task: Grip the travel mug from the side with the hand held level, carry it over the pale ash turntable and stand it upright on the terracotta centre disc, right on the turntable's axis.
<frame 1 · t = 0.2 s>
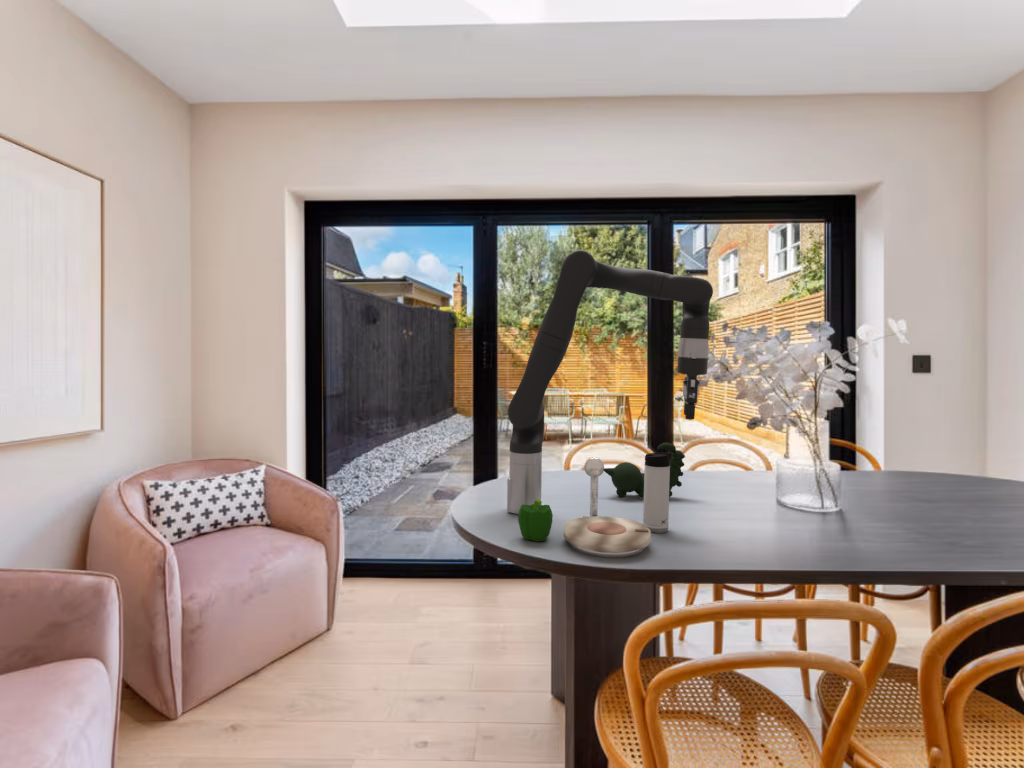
hand: (688, 417, 143), 29 cm above the table, tool pointing down, fingers open, 8 cm apart
toy figurine: (642, 498, 172), on the table
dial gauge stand: (593, 524, 142), on the table
bell pepper: (535, 539, 130), on the table
turntable base: (606, 544, 127), on the table
travel mug: (656, 530, 139), on the table
turntable platter: (606, 532, 126), point 3 cm above the table, hinge at 0.0°
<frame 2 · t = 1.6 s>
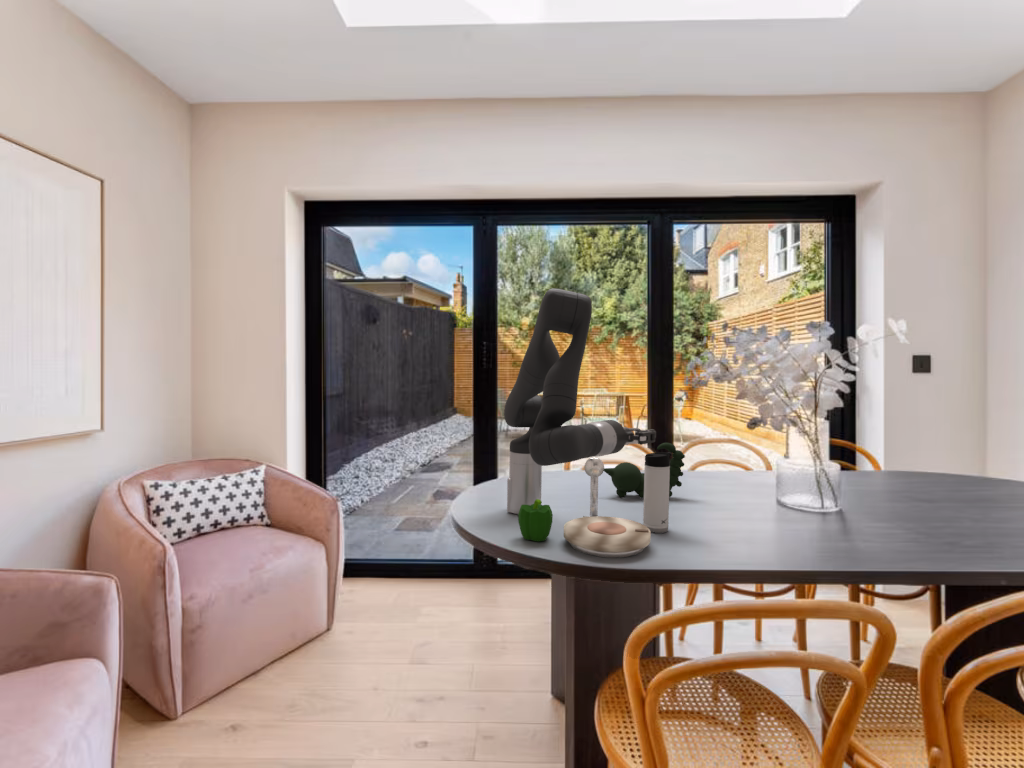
hand: (637, 432, 130), 26 cm above the table, tool horizontal, fingers open, 8 cm apart
nothing on the table moved.
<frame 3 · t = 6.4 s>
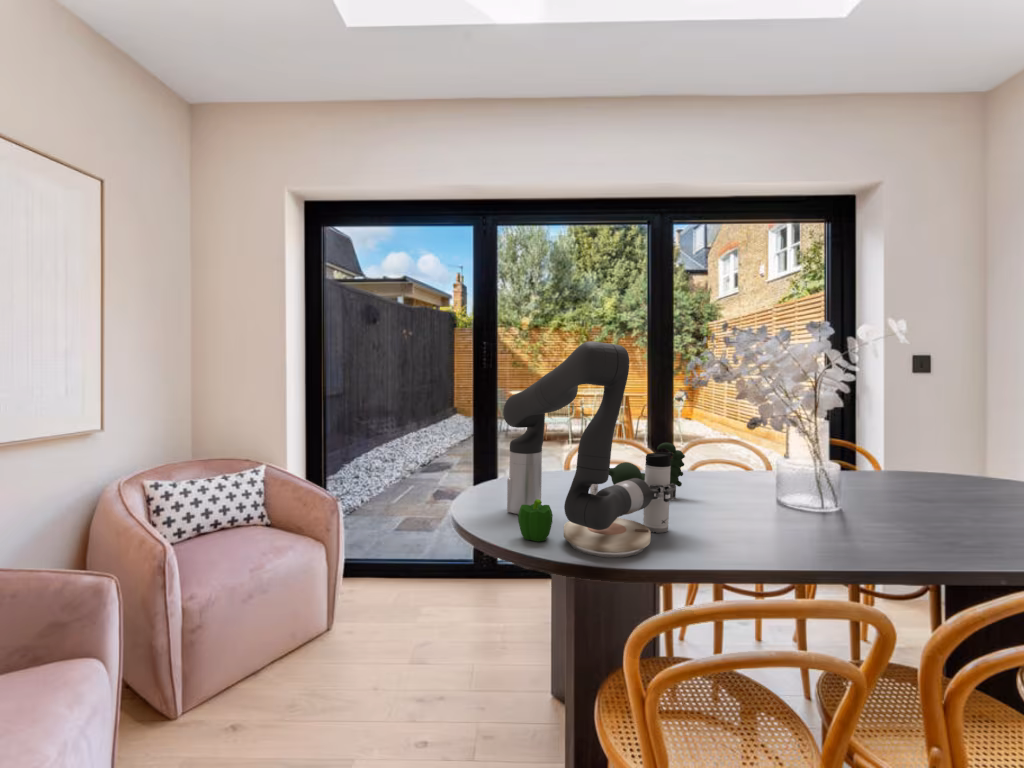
hand: (661, 485, 140), 11 cm above the table, tool horizontal, fingers closed on travel mug, 6 cm apart
travel mug: (656, 530, 139), on the table, touching gripper
everything else where it was.
when the fingers open (16 cm above the table, at t = 12.3 s): travel mug drops 1 cm, resting on turntable platter.
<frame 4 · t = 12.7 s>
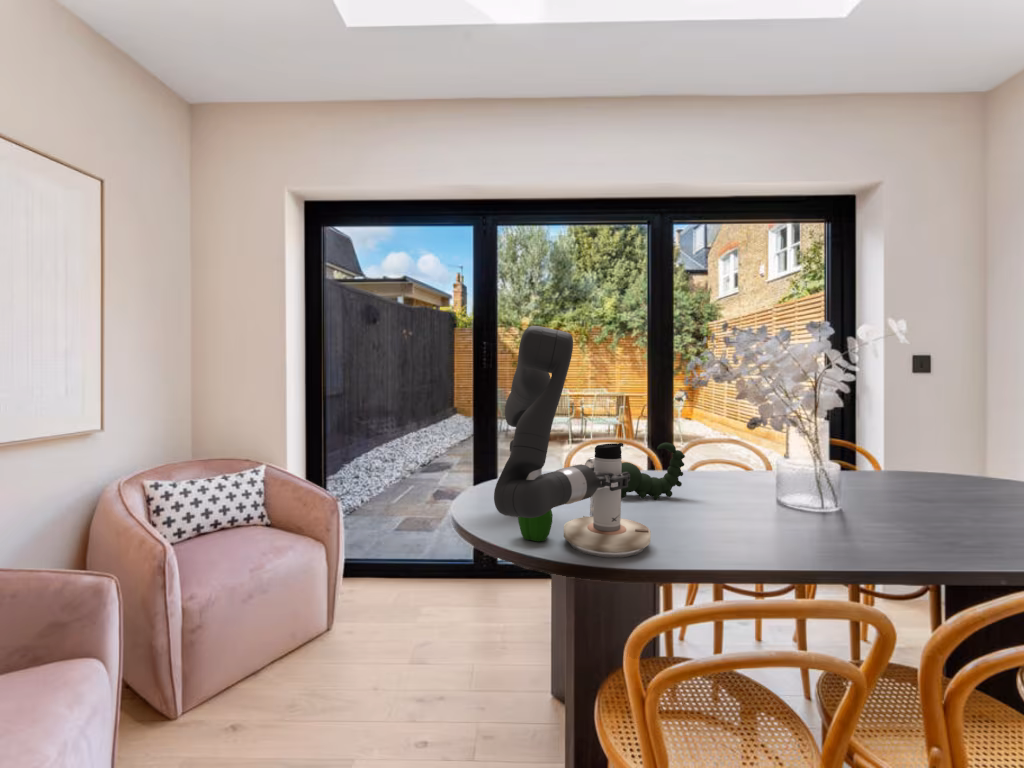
hand: (612, 473, 127), 17 cm above the table, tool horizontal, fingers open, 8 cm apart
travel mug: (607, 528, 126), point 4 cm above the table, touching turntable platter
turntable platter: (606, 532, 126), point 3 cm above the table, hinge at 0.0°, touching travel mug
everything else where it was.
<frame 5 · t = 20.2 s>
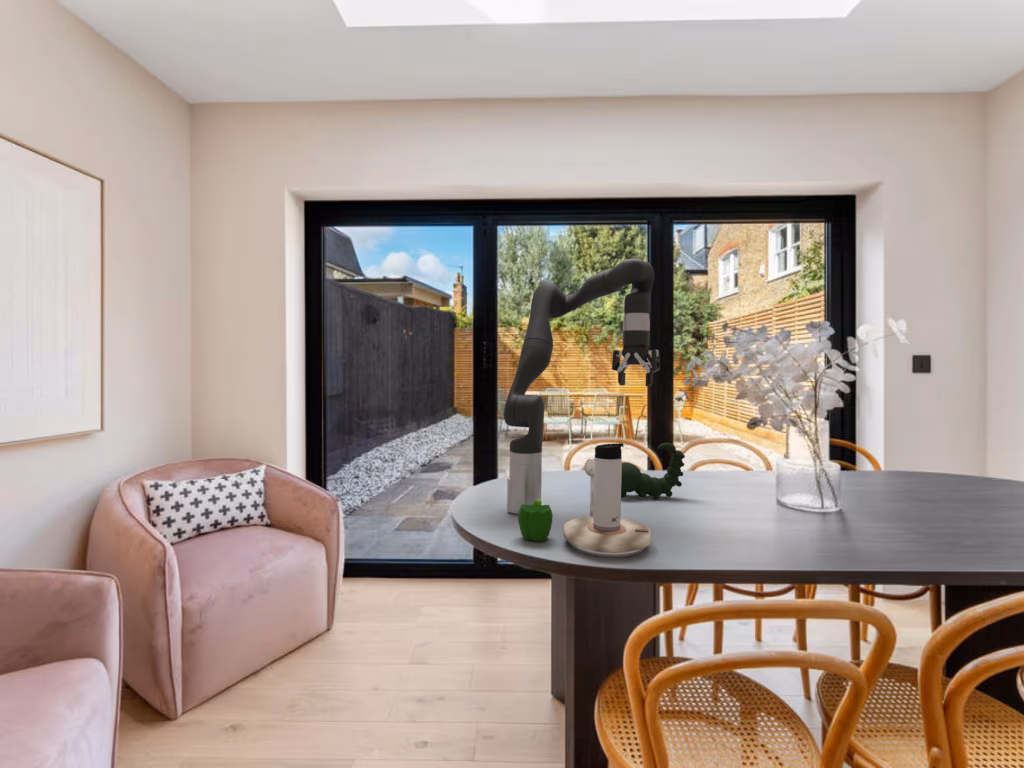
hand: (634, 385, 156), 36 cm above the table, tool pointing down, fingers open, 8 cm apart
nothing on the table moved.
at the end: travel mug 0.3 cm from the turntable platter (horizontally); travel mug tilted 0°; travel mug touching turntable platter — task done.
